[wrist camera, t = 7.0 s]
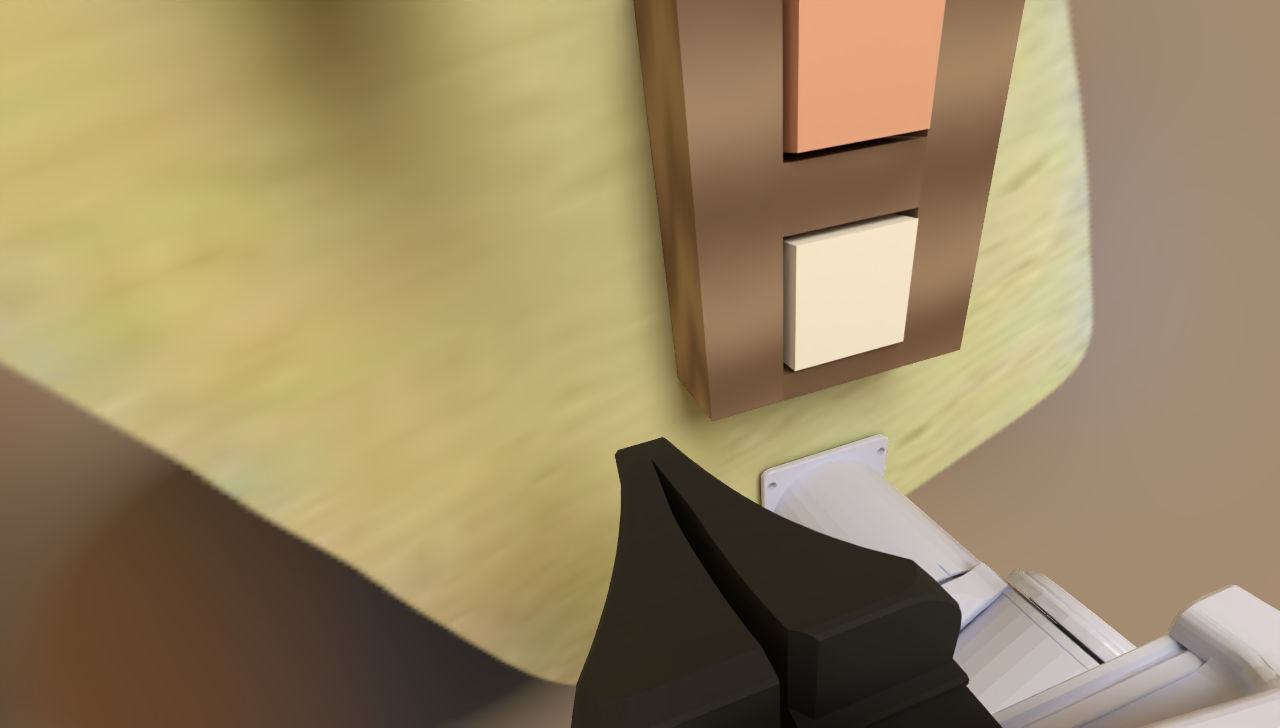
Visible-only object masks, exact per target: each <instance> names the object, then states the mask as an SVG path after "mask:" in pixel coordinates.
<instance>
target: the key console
mask: <svg viewBox="0 0 1280 728" xmlns="http://www.w3.org/2000/svg"><path fill="white" fill-rule="evenodd" d="M1024 3H1025V0H946V2H945V10H944V18H943V26H942V34H941V42H940V50H939V58H938V66H937V74H936V82H935V90H934V99H933V107H932V115H931V123H930V129H924V130H919V131H914V132H908V133H903V134H897V135H892V136H887V137H881V138H876V139H871V140H865V141H860V142H854V143H849V144H844V145H838V146H833V147H828V148H822V149H817V150H811V151H806V152H801V153H788V152H783V37H782V0H634V7H635V15H636V24H637V32H638V41H639V49H640V58H641V66H642V75H643V83H644V92H645V100H646V109H647V117H648V126H649V134H650V143H651V151H652V160H653V168H654V177H655V185H656V194H657V202H658V211H659V219H660V228H661V236H662V245H663V253H664V262H665V270H666V279H667V287H668V296H669V304H670V313H671V321H672V330H673V338H674V347H675V355H676V364H677V372H678V378H679V379H680V381H681V382H682V383H683V385H684V386H685V387H686V388H687V390H688V391H689V392H690V394H691V395H692V396H693V397H694V399H695V400H696V401H697V403H698V404H699V405H700V406H701V408H702V409H703V410H704V412H705V413H706V414H707V415H708V417H709V418H710V419H711V421H714V420H718V419H721V418H725V417H728V416H732V415H735V414H739V413H742V412H745V411H749V410H752V409H756V408H759V407H763V406H766V405H770V404H773V403H777V402H780V401H784V400H787V399H791V398H794V397H798V396H801V395H805V394H808V393H811V392H815V391H818V390H822V389H825V388H829V387H832V386H836V385H839V384H843V383H846V382H850V381H853V380H857V379H860V378H864V377H867V376H871V375H874V374H877V373H881V372H884V371H888V370H891V369H895V368H898V367H902V366H905V365H909V364H912V363H916V362H919V361H923V360H926V359H930V358H933V357H937V356H940V355H943V354H947V353H950V352H954V351H957V350H960V347H961V342H962V336H963V331H964V325H965V320H966V315H967V309H968V304H969V299H970V293H971V288H972V282H973V277H974V272H975V266H976V261H977V256H978V250H979V245H980V239H981V234H982V229H983V223H984V218H985V213H986V207H987V202H988V196H989V191H990V186H991V180H992V175H993V170H994V164H995V159H996V153H997V148H998V143H999V137H1000V132H1001V127H1002V121H1003V116H1004V110H1005V105H1006V100H1007V94H1008V89H1009V84H1010V78H1011V73H1012V67H1013V62H1014V57H1015V51H1016V46H1017V41H1018V35H1019V30H1020V24H1021V19H1022V14H1023V8H1024ZM890 213H893V214H898V215H903V216H908V217H913V218H918V227H917V235H916V243H915V251H914V259H913V267H912V275H911V283H910V291H909V299H908V307H907V315H906V323H905V331H904V339H903V341H902V342H899V343H895V344H892V345H888V346H884V347H881V348H877V349H874V350H870V351H866V352H863V353H859V354H856V355H852V356H848V357H845V358H841V359H837V360H834V361H830V362H827V363H823V364H819V365H816V366H812V367H809V368H805V369H801V370H798V371H794V370H793V369H792V368H790V367H789V366H788V365H786V364H785V363H784V362H783V237H786V236H790V235H795V234H799V233H804V232H809V231H813V230H818V229H822V228H827V227H831V226H836V225H840V224H845V223H849V222H854V221H859V220H863V219H868V218H872V217H877V216H881V215H886V214H890Z"/></svg>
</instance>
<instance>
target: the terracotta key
mask: <svg viewBox="0 0 1280 728" xmlns="http://www.w3.org/2000/svg"><path fill="white" fill-rule="evenodd" d="M945 2H946V0H782V37H783V152H788V153H801V152H806V151H811V150H817V149H822V148H828V147H833V146H838V145H844V144H849V143H854V142H860V141H865V140H871V139H876V138H881V137H887V136H892V135H897V134H903V133H908V132H914V131H919V130H924V129H930V123H931V115H932V107H933V99H934V90H935V82H936V74H937V66H938V58H939V50H940V42H941V34H942V26H943V18H944V10H945Z"/></svg>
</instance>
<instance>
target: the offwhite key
mask: <svg viewBox="0 0 1280 728" xmlns="http://www.w3.org/2000/svg"><path fill="white" fill-rule="evenodd" d="M917 227H918V218H913V217H908V216H903V215H898V214H893V213H890V214H886V215H881V216H877V217H872V218H868V219H863V220H859V221H854V222H849V223H845V224H840V225H836V226H831V227H827V228H822V229H818V230H813V231H809V232H804V233H799V234H795V235H790V236H786V237H783V362H784V363H785V364H786V365H788V366H789V367H790V368H792V369H793V370H794V371H798V370H801V369H805V368H809V367H812V366H816V365H819V364H823V363H827V362H830V361H834V360H837V359H841V358H845V357H848V356H852V355H856V354H859V353H863V352H866V351H870V350H874V349H877V348H881V347H884V346H888V345H892V344H895V343H899V342H902V341H903V339H904V331H905V323H906V315H907V307H908V299H909V291H910V283H911V275H912V267H913V259H914V251H915V243H916V235H917Z"/></svg>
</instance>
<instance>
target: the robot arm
mask: <svg viewBox="0 0 1280 728" xmlns="http://www.w3.org/2000/svg"><path fill="white" fill-rule="evenodd" d="M887 449H888V438H887V437H886V436H884V435H883V434H877V435H874V436H871V437H868V438H865V439H861V440H858V441H855V442H852V443H849V444H846V445H842V446H839V447H836V448H833V449H830V450H826V451H823V452H820V453H817V454H814V455H811V456H807V457H804V458H801V459H798V460H795V461H792V462H788V463H785V464H782V465H779V466H776V467H772V468H769V469H767V470H765V471H764V472H763V474H762V475H761V499H762V506H760V505H758V504H757V503H755V502H753V501H751V500H750V499H748V498H746V497H744V496H743V495H741V494H740V493H738V492H736V491H735V490H733V489H732V488H730V487H729V486H727V485H726V484H724V483H723V482H721V481H720V480H718V479H717V478H715V477H714V476H712V475H711V474H710V473H708V472H707V471H705V470H704V469H703V468H701V467H700V466H699V465H697V464H696V463H695V462H693V461H692V460H691V459H690V458H688V457H687V456H686V455H685V454H683V453H682V452H681V451H680V450H679V449H677V448H676V447H675V446H674V445H673V444H671V443H670V442H669V441H668V440H667V439H665V438H663V437H662V438H658V439H655V440H651V441H648V442H644V443H641V444H638V445H634V446H631V447H627V448H624V449H620V450H618V451H617V452H616V454H615V459H616V464H617V468H618V473H619V478H620V483H621V514H620V527H619V537H618V545H617V551H616V557H615V563H614V568H613V573H612V577H611V582H610V586H609V591H608V595H607V599H606V602H605V606H604V609H603V612H602V616H601V619H600V622H599V625H598V628H597V632H596V635H595V638H594V641H593V644H592V646H591V649H590V652H589V654H588V657H587V659H586V662H585V664H584V667H583V669H582V672H581V675H580V677H579V680H578V682H577V685H576V693H575V700H574V708H573V715H572V724H571V728H1280V611H1278V610H1276V609H1275V608H1273V607H1271V606H1270V605H1268V604H1266V603H1265V602H1263V601H1261V600H1260V599H1258V598H1256V597H1255V596H1253V595H1252V594H1250V593H1248V592H1246V591H1245V590H1243V589H1242V588H1240V587H1238V586H1237V585H1228V586H1225V587H1223V588H1221V589H1219V590H1217V591H1214V592H1212V593H1210V594H1208V595H1205V596H1203V597H1201V598H1199V599H1196V600H1194V601H1192V602H1191V603H1189V604H1188V605H1186V606H1185V607H1184V608H1182V610H1180V611H1179V612H1178V613H1177V615H1176V616H1175V617H1174V619H1173V621H1172V623H1171V625H1170V627H1169V633H1168V634H1166V635H1164V636H1162V637H1160V638H1157V639H1155V640H1153V641H1151V642H1149V643H1146V644H1144V645H1142V646H1140V647H1138V648H1136V647H1135V646H1134V645H1133V644H1132V643H1130V642H1129V641H1128V640H1127V639H1125V638H1124V637H1123V636H1122V635H1120V634H1119V633H1118V632H1117V631H1115V630H1114V629H1113V628H1112V627H1110V626H1109V625H1108V624H1107V623H1105V622H1104V621H1103V620H1102V619H1100V618H1099V617H1098V616H1097V615H1095V614H1094V613H1093V612H1092V611H1090V610H1089V609H1088V608H1087V607H1085V606H1084V605H1083V604H1081V603H1080V602H1079V601H1078V600H1076V599H1075V598H1074V597H1072V596H1071V595H1070V594H1069V593H1067V592H1066V591H1065V590H1063V589H1062V588H1061V587H1059V586H1058V585H1057V584H1056V583H1054V582H1053V581H1052V580H1050V579H1049V578H1047V577H1046V576H1045V575H1044V574H1042V573H1040V572H1030V571H1027V572H1023V571H1022V570H1020V569H1015V570H1013V572H1012V573H1011V574H1010V575H1009V576H1008V579H1010V580H1011V581H1012V582H1013V583H1014V584H1015V585H1016V586H1017V587H1019V588H1020V589H1021V590H1022V591H1023V592H1025V594H1027V595H1028V596H1029V599H1030V600H1031V601H1032V602H1034V603H1035V604H1036V605H1037V606H1038V607H1039V608H1040V609H1041V610H1043V611H1044V612H1045V613H1046V614H1047V615H1048V616H1049V617H1051V618H1052V619H1053V620H1054V621H1055V622H1056V623H1057V624H1056V623H1055V622H1054V621H1053V620H1052V619H1050V618H1049V617H1048V616H1047V615H1046V614H1044V613H1043V612H1042V611H1041V610H1040V609H1039V608H1038V607H1037V606H1035V605H1034V604H1033V603H1032V602H1030V600H1028V599H1027V598H1026V597H1025V596H1024V595H1023V594H1021V593H1020V592H1019V591H1018V590H1017V589H1015V588H1014V587H1013V586H1012V585H1010V584H1009V583H1008V582H1007V581H1005V580H1004V579H1003V578H1001V577H1000V576H999V575H998V574H997V573H995V572H994V571H993V570H992V569H990V568H989V567H988V566H987V565H985V564H984V563H981V562H980V561H979V560H978V559H977V558H976V557H974V556H973V555H972V554H971V553H970V552H969V551H968V550H966V549H965V548H964V547H963V546H962V545H961V544H960V543H958V542H957V541H956V540H955V539H954V538H953V537H951V536H950V535H949V534H948V533H947V532H946V531H945V530H943V529H942V528H941V527H940V526H939V525H938V524H936V523H935V522H934V521H933V520H932V519H931V518H930V517H929V516H927V515H926V514H925V513H924V512H923V511H922V510H920V509H919V508H918V507H917V506H916V505H915V504H914V503H912V502H911V501H910V500H909V499H908V498H907V497H906V496H904V495H903V494H902V493H901V492H900V491H899V490H898V489H896V488H895V487H894V486H893V485H892V484H891V483H889V482H888V481H887V480H886V479H885V478H884V474H885V465H886V457H887ZM771 483H772V484H771ZM770 484H771V485H770Z"/></svg>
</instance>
